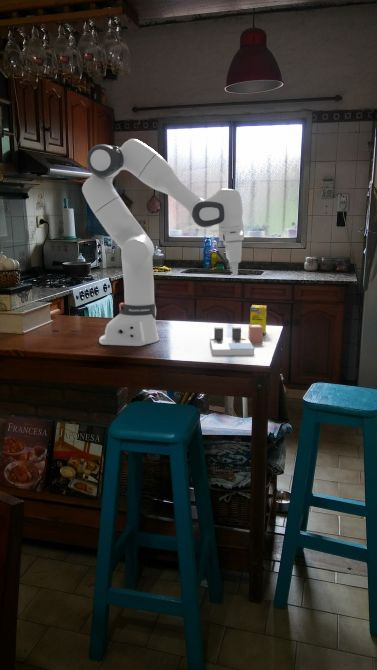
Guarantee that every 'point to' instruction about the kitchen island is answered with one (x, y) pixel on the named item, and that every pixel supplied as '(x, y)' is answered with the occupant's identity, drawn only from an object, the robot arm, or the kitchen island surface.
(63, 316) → the kitchen island surface
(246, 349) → the panel
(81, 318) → the kitchen island surface
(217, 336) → the breaker
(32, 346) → the kitchen island surface
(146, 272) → the robot arm
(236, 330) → the breaker
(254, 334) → the cap
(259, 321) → the supplement box
